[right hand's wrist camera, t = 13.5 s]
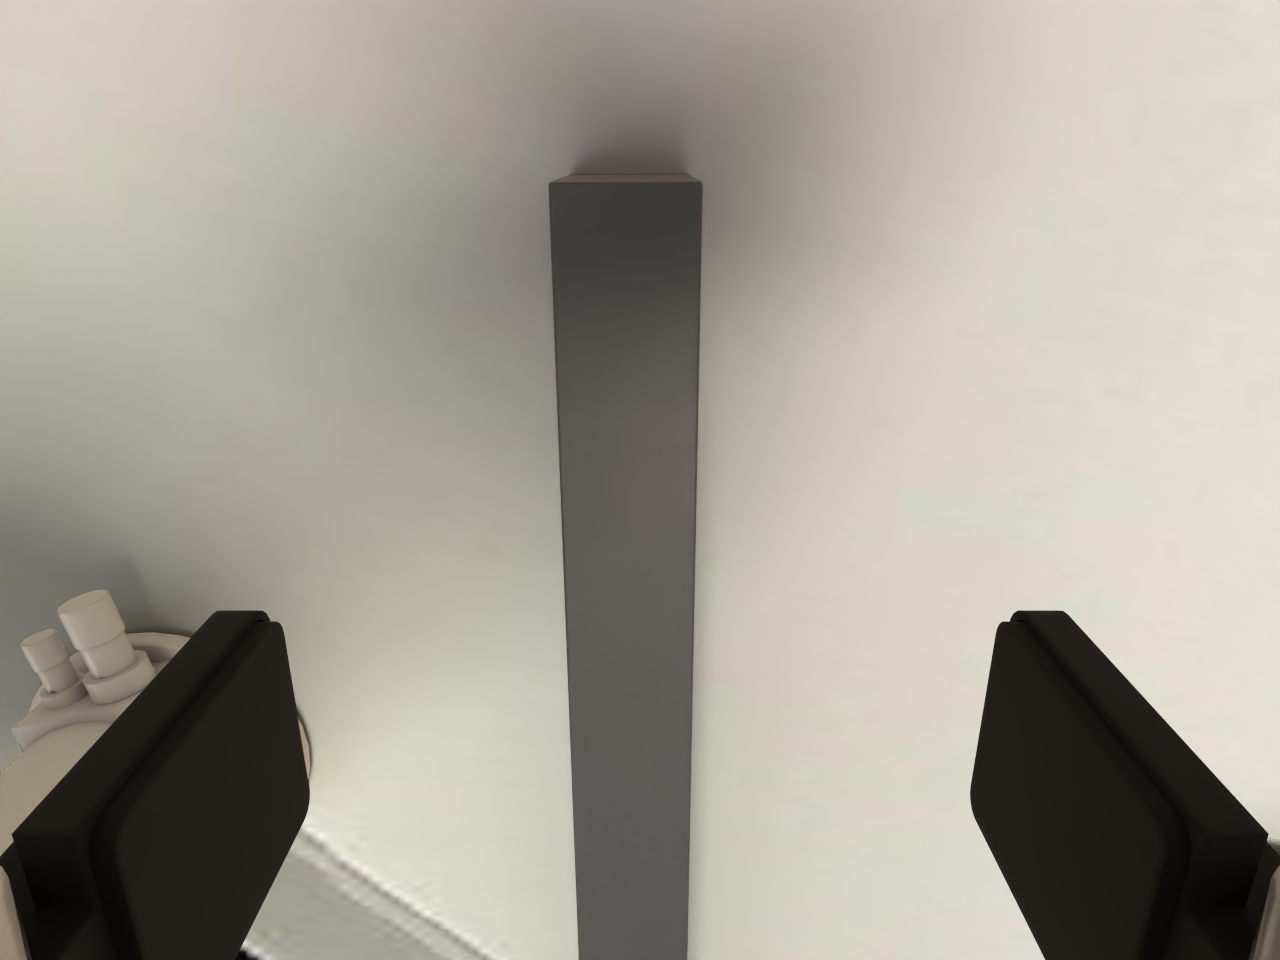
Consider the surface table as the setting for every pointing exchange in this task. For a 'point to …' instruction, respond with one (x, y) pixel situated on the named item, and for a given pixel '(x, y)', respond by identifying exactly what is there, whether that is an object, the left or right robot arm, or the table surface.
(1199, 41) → the table surface
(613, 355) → the post
